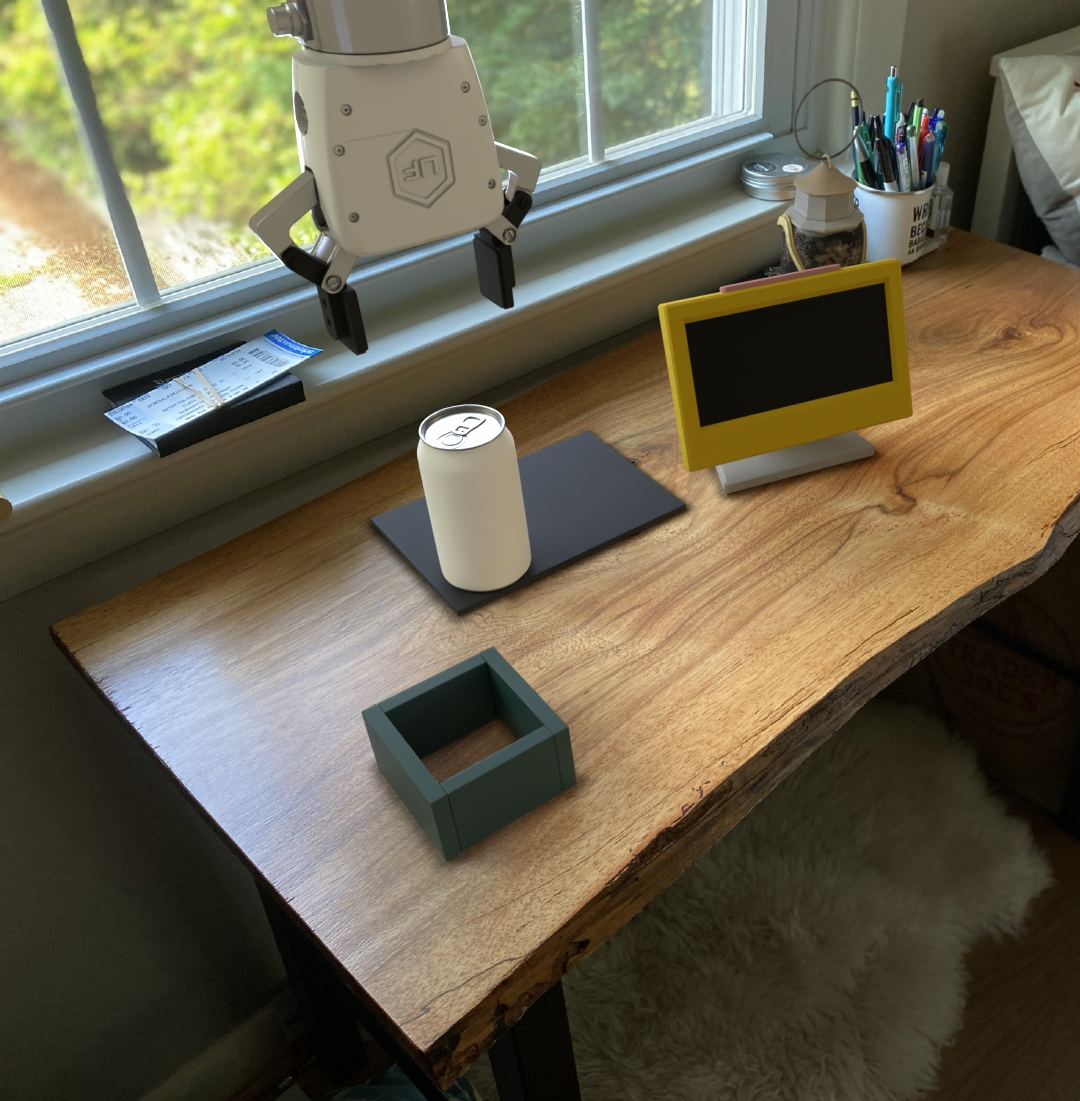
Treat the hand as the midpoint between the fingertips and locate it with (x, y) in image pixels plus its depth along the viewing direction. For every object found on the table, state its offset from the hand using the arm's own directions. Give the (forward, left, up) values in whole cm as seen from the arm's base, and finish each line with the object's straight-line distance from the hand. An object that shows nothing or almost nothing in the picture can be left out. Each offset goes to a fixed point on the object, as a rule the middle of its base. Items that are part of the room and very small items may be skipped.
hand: (427, 323), depth 67 cm
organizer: (-9, -16, -21) cm, 28 cm away
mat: (+7, +4, -21) cm, 22 cm away
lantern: (+43, +10, -21) cm, 49 cm away
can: (+1, 0, -20) cm, 20 cm away
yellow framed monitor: (+28, -2, -21) cm, 35 cm away
